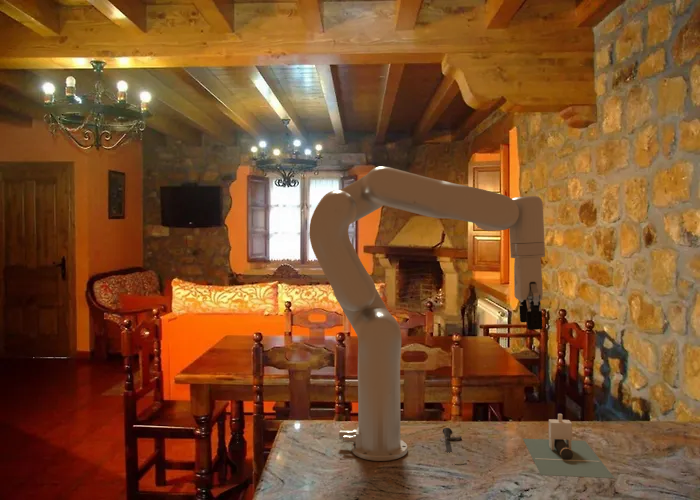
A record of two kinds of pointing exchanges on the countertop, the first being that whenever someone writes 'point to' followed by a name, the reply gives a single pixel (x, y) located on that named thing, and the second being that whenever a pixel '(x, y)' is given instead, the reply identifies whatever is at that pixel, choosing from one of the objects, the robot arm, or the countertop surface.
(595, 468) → the cutting mat
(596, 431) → the countertop surface
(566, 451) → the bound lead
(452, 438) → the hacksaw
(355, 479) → the countertop surface
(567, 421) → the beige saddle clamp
